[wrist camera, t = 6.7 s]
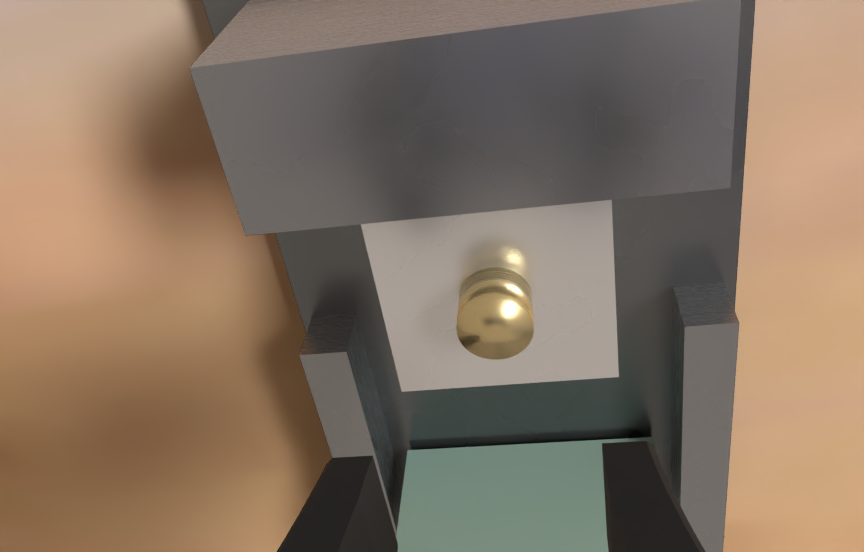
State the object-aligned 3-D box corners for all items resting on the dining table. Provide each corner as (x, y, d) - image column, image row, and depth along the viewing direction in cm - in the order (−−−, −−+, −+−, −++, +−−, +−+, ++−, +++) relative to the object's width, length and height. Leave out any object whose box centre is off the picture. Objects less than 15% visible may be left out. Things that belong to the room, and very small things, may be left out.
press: (715, 499, 25) (763, 682, 21) (372, 514, 27) (344, 686, 22) (752, -132, 15) (863, -61, 10) (202, -47, 17) (84, 48, 12)
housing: (600, 266, 20) (625, 411, 16) (418, 282, 20) (396, 426, 16) (590, 91, 17) (617, 211, 13) (383, 116, 18) (347, 237, 14)
